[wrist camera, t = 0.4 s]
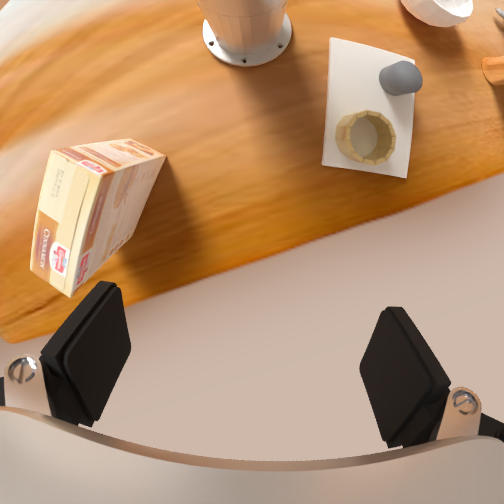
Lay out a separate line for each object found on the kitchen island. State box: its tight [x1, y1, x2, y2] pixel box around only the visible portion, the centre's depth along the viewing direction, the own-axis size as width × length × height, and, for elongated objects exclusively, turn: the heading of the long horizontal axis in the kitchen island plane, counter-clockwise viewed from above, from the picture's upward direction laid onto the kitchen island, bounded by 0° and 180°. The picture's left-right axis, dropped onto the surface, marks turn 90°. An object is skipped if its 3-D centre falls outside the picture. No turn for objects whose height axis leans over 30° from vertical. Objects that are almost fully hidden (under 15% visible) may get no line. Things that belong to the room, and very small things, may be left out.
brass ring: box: [335, 110, 396, 166], centre depth 34 cm, size 7×7×5 cm
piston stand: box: [321, 37, 422, 178], centre depth 33 cm, size 20×14×6 cm
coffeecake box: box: [30, 138, 166, 298], centre depth 32 cm, size 15×7×20 cm, turn 150°
